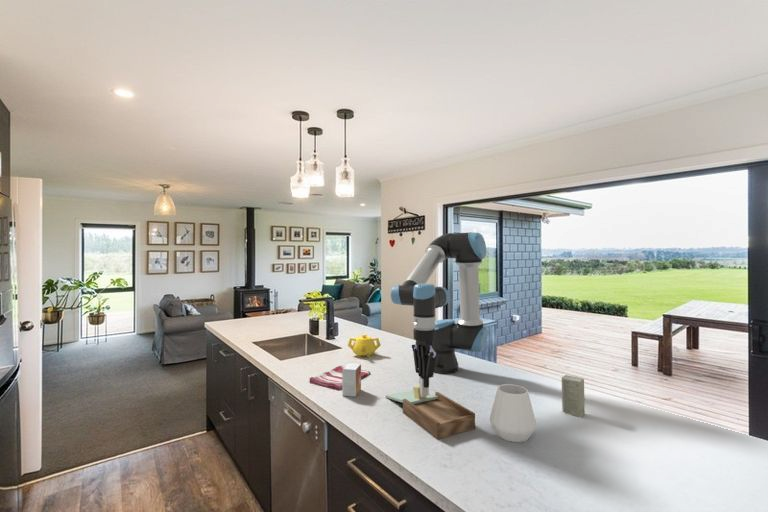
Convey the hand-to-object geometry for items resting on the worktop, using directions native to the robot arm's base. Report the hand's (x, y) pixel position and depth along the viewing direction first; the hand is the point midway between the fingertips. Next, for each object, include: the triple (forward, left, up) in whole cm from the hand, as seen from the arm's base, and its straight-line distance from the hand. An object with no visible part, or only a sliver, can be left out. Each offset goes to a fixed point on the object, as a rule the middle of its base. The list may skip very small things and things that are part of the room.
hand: (424, 395), depth 126 cm
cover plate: (0, -8, -4) cm, 9 cm away
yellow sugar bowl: (-10, -73, -6) cm, 74 cm away
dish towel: (+14, -45, -6) cm, 48 cm away
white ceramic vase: (-15, +26, -6) cm, 30 cm away
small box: (+16, -27, -6) cm, 32 cm away
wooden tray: (0, +8, -5) cm, 10 cm away
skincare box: (-45, +25, -6) cm, 52 cm away
